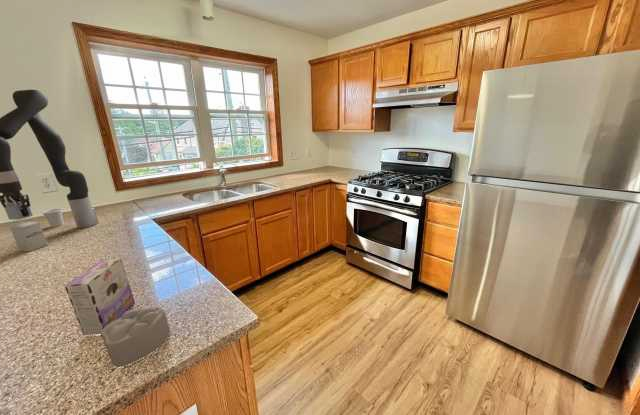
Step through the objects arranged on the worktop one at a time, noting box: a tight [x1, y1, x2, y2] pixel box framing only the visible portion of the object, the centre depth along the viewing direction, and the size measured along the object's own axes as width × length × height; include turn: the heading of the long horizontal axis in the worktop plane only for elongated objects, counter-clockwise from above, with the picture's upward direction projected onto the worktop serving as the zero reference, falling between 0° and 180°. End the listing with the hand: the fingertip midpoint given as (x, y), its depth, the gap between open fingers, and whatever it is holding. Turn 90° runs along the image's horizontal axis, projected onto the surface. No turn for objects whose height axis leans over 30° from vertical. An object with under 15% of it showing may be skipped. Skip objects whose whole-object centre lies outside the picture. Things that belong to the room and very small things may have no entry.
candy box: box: [64, 257, 136, 336], centre depth 75 cm, size 14×6×16 cm, turn 5°
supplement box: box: [9, 221, 48, 252], centre depth 128 cm, size 7×7×13 cm
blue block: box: [3, 203, 33, 221], centre depth 124 cm, size 6×6×6 cm
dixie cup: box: [42, 208, 65, 229], centre depth 159 cm, size 8×8×10 cm
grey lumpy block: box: [100, 306, 171, 367], centre depth 66 cm, size 10×13×9 cm
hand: (20, 216), depth 125 cm, fingers closed on blue block, 5 cm apart
